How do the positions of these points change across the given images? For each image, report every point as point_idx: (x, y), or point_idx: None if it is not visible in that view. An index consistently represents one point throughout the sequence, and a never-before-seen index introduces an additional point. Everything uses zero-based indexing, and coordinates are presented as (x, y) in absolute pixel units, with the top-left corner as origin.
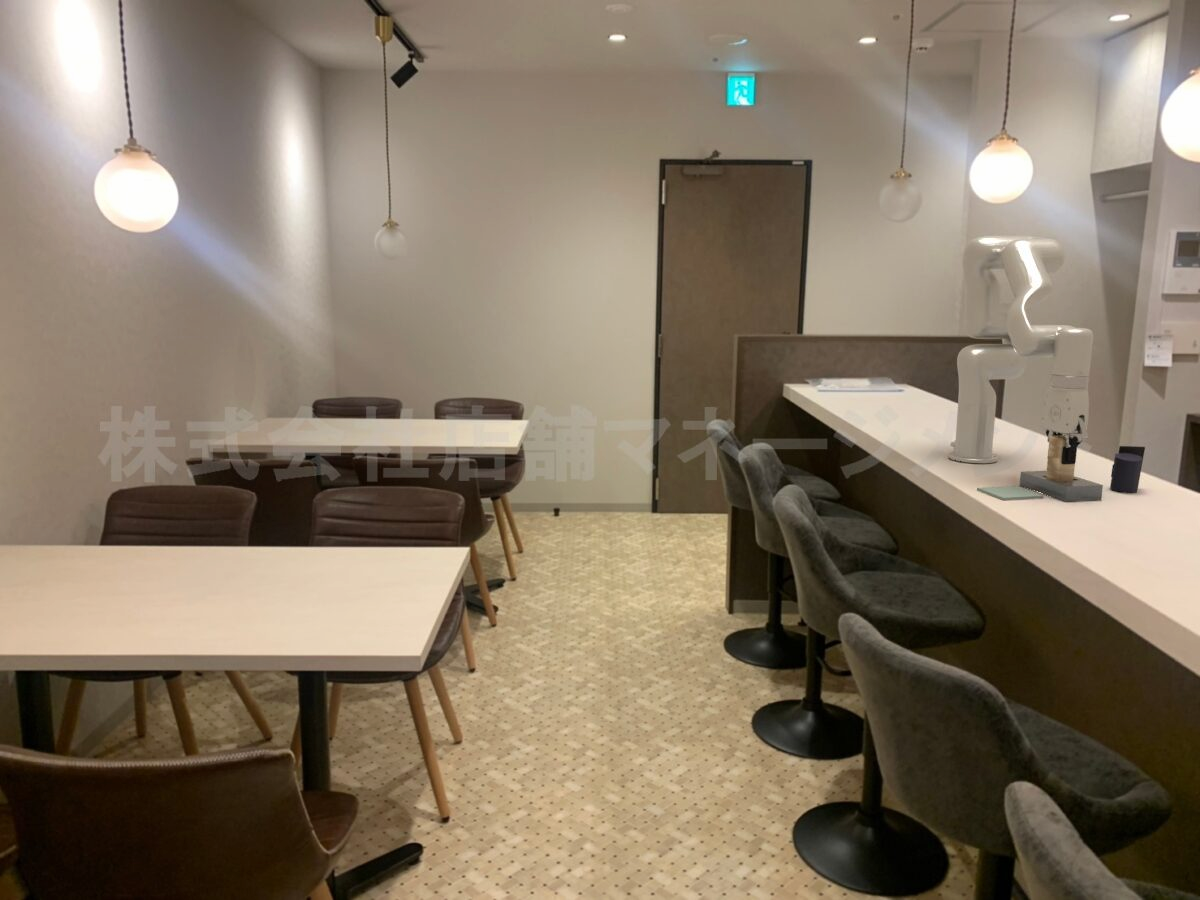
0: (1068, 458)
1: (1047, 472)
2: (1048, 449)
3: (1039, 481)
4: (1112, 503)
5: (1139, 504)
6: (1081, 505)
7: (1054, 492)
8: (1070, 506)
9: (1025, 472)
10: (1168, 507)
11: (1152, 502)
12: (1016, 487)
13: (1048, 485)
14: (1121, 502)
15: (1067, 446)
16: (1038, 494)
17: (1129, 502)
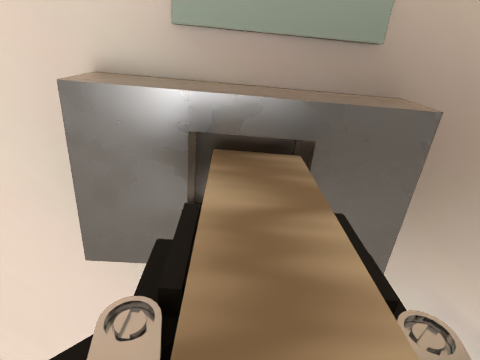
0: (158, 245)
1: (299, 166)
2: (369, 255)
3: (279, 95)
4: (64, 225)
5: (47, 286)
6: (35, 97)
7: (163, 81)
8: (16, 34)
9: (416, 123)
10: (9, 325)
11: (71, 328)
12: (355, 20)
13: (208, 88)
14: (76, 258)
15: (137, 311)
16: (200, 18)
17: (75, 278)
